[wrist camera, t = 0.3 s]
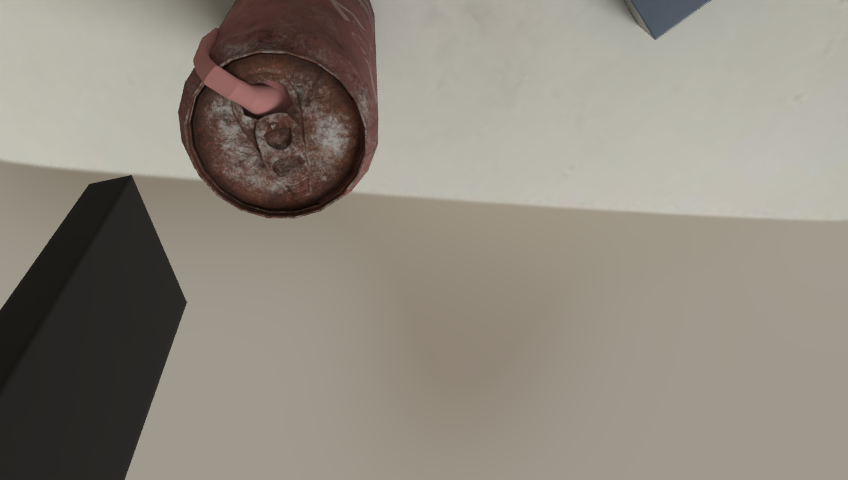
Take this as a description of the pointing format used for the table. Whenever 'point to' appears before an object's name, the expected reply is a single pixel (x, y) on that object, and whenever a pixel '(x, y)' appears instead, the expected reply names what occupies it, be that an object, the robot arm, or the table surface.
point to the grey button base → (662, 13)
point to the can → (284, 104)
